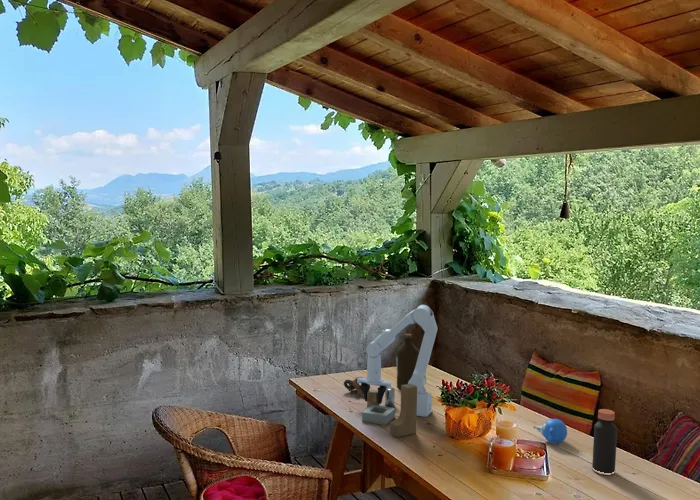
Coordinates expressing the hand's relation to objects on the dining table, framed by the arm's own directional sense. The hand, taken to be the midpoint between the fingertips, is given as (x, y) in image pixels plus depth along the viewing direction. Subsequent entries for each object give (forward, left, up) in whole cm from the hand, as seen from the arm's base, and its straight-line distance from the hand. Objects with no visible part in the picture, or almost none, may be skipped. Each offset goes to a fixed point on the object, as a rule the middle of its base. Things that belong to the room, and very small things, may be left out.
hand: (373, 401), depth 252 cm
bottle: (-90, +21, -3) cm, 92 cm away
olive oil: (-3, -33, -3) cm, 33 cm away
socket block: (-7, +11, -2) cm, 13 cm away
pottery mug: (+14, -14, -3) cm, 20 cm away
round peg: (-5, -6, -2) cm, 8 cm away
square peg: (0, 0, -2) cm, 2 cm away
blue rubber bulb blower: (-71, +3, -3) cm, 71 cm away
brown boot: (-21, +21, -3) cm, 30 cm away
